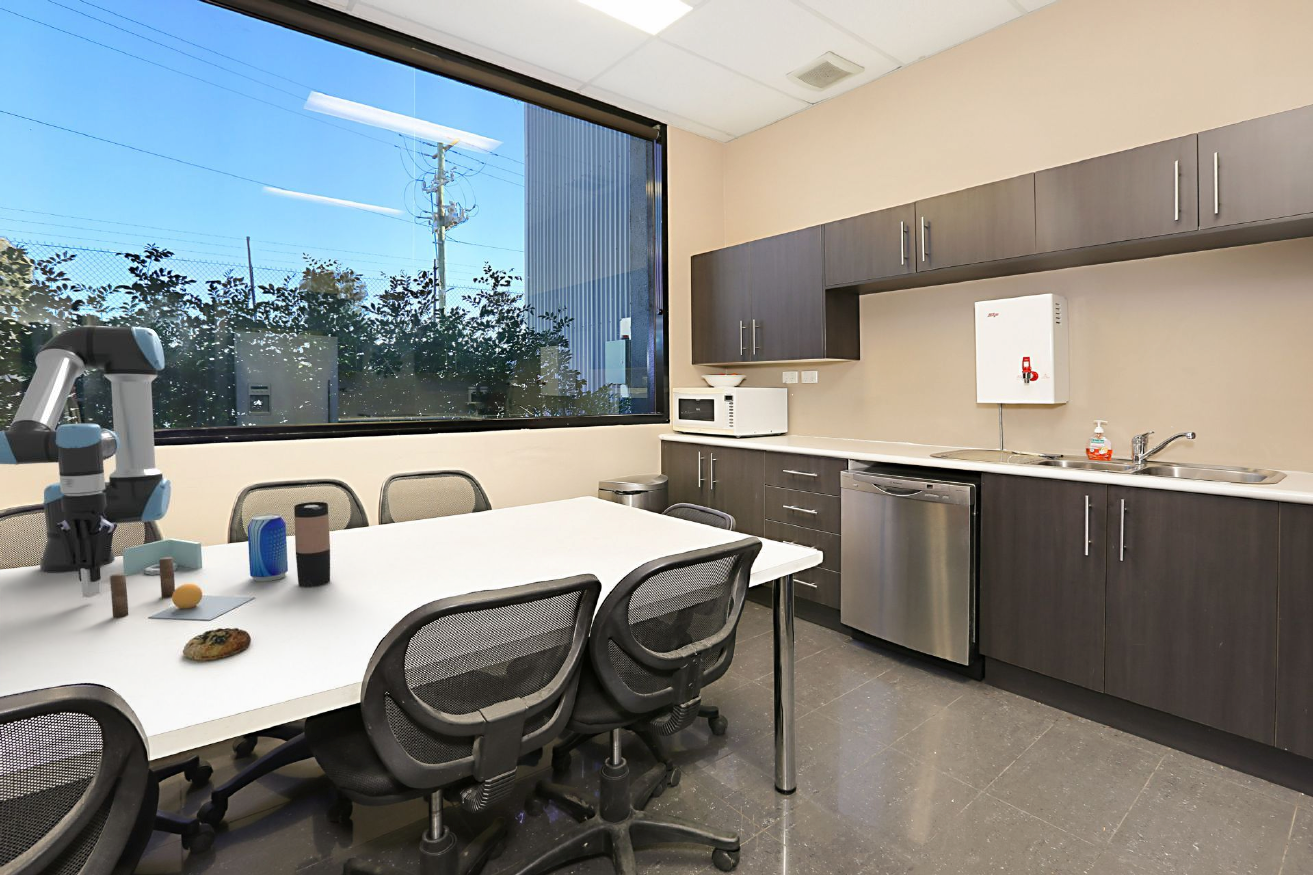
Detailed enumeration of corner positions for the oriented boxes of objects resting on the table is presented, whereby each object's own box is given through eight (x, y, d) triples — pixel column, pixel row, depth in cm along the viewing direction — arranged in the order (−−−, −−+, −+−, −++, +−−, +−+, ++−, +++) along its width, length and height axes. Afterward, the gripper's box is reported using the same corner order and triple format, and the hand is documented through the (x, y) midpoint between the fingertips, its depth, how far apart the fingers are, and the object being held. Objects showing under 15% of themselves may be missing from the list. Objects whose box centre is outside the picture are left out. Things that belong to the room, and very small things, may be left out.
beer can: (270, 583, 163) (267, 520, 161) (242, 581, 164) (238, 519, 163) (295, 573, 171) (292, 513, 169) (268, 571, 173) (265, 512, 171)
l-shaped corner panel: (124, 577, 168) (122, 549, 168) (173, 564, 180) (171, 538, 179) (154, 583, 164) (152, 554, 163) (202, 570, 175) (200, 542, 174)
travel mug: (305, 578, 167) (302, 501, 165) (336, 577, 168) (333, 501, 166) (291, 588, 159) (287, 508, 158) (323, 587, 160) (320, 507, 158)
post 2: (158, 597, 152) (156, 560, 151) (167, 593, 154) (165, 556, 154) (169, 597, 152) (166, 560, 151) (178, 594, 154) (175, 557, 153)
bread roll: (264, 637, 130) (259, 614, 129) (230, 669, 119) (225, 645, 118) (207, 639, 130) (203, 617, 129) (168, 672, 119) (163, 647, 118)
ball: (188, 589, 142) (188, 613, 142) (208, 581, 147) (208, 605, 148) (165, 586, 143) (165, 610, 143) (186, 579, 148) (186, 602, 148)
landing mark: (148, 617, 139) (148, 617, 139) (198, 595, 153) (198, 595, 153) (210, 620, 138) (210, 619, 138) (255, 598, 152) (255, 597, 152)
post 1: (109, 617, 139) (106, 576, 138) (120, 613, 142) (117, 573, 141) (121, 617, 139) (118, 577, 138) (131, 613, 142) (128, 573, 141)
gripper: (39, 495, 142) (48, 599, 144) (95, 496, 141) (102, 601, 143) (72, 489, 149) (80, 588, 152) (125, 490, 148) (132, 590, 151)
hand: (91, 595), depth 148 cm, fingers closed
